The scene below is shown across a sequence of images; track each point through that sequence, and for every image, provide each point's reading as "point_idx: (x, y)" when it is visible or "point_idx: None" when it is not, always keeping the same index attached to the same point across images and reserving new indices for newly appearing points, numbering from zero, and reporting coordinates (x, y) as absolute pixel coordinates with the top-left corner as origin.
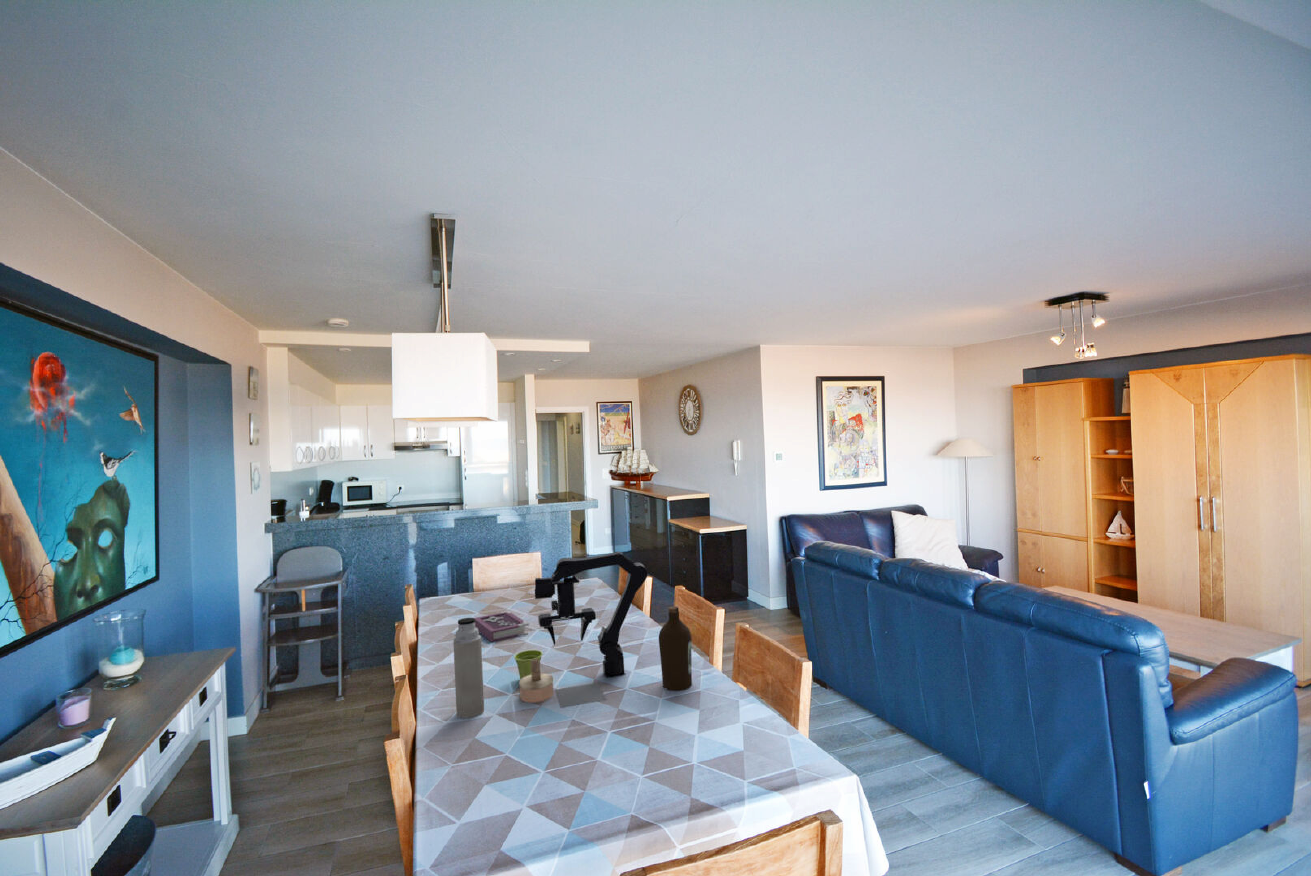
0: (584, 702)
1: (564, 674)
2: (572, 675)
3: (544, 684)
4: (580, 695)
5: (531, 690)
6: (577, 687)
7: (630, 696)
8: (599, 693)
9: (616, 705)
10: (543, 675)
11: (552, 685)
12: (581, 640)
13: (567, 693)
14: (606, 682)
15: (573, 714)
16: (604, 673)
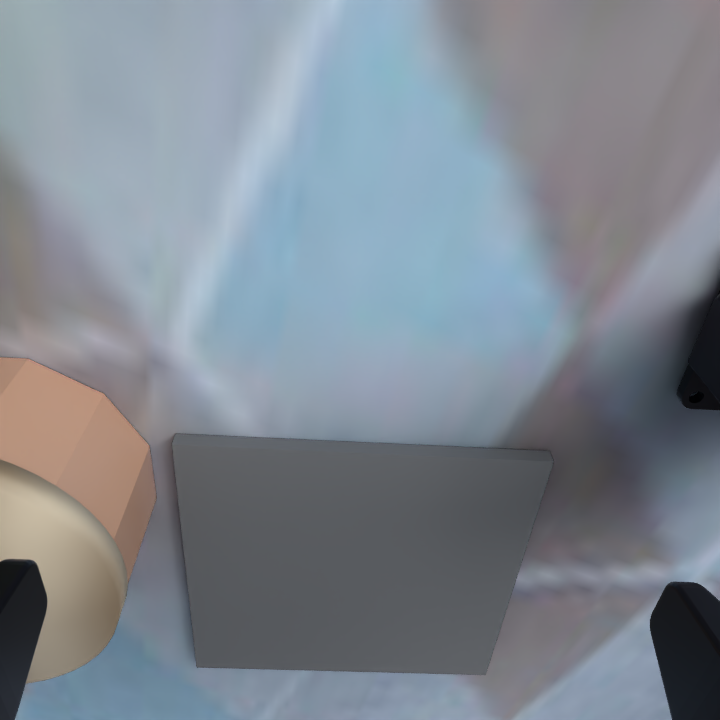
0: (349, 662)
1: (324, 46)
2: (409, 134)
3: (45, 679)
4: (350, 589)
5: None
6: (365, 478)
7: (637, 658)
8: (480, 607)
9: (510, 704)
10: (12, 537)
11: (130, 571)
12: (653, 633)
13: (266, 535)
14: (630, 443)
15: (262, 707)
16: (695, 372)
